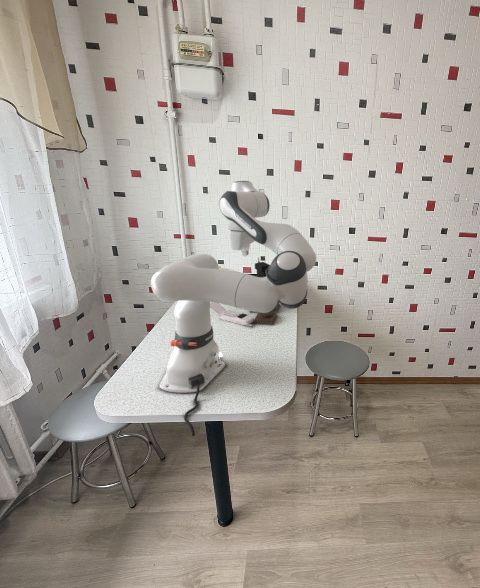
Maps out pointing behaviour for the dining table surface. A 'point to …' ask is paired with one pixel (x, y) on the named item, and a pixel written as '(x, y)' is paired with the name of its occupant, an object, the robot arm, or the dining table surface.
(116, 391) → the dining table surface
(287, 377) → the dining table surface
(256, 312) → the black square tray
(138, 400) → the dining table surface
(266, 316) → the switch block
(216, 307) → the pale pink bent bar
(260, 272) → the portable radio
